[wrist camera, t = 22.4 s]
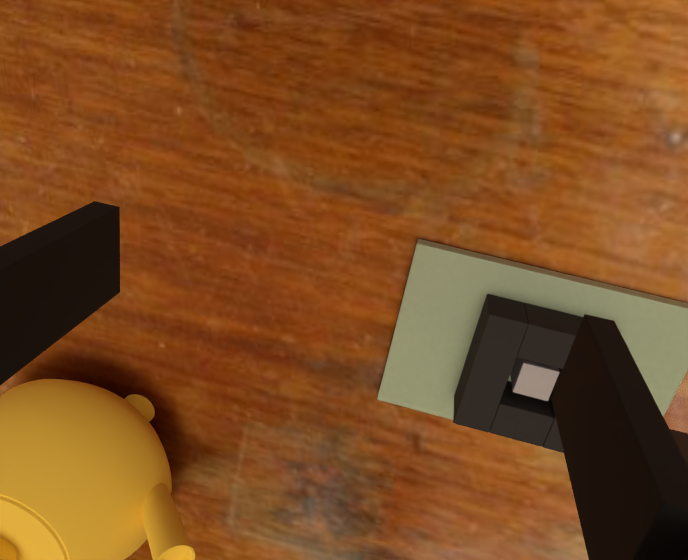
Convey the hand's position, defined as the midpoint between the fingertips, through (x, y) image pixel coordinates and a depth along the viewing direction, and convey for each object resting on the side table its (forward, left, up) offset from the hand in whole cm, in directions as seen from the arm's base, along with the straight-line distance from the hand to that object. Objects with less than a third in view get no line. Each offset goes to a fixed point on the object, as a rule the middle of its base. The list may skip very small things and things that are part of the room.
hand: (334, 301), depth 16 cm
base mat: (+11, +11, -21) cm, 26 cm away
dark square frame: (+11, +11, -20) cm, 25 cm away
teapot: (+28, -17, -21) cm, 38 cm away
